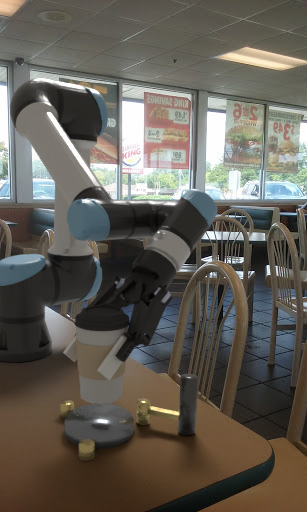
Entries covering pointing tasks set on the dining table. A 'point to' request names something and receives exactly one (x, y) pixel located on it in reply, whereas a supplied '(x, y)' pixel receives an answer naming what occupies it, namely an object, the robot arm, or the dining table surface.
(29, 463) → the dining table surface
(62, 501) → the dining table surface
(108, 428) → the plate
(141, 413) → the lever
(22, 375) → the dining table surface
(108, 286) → the robot arm
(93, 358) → the coffee cup
